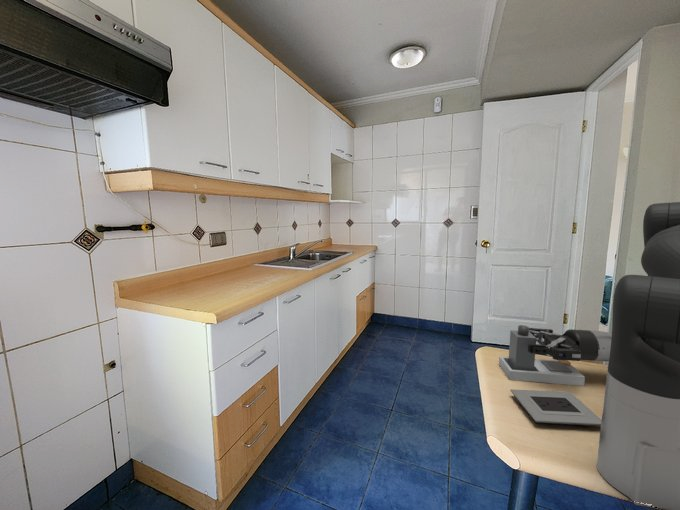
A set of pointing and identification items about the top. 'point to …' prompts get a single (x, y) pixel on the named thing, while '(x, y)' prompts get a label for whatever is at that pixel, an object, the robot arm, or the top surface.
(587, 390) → the top surface
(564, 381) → the grey rectangular frame
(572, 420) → the electrical outlet
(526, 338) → the plug
